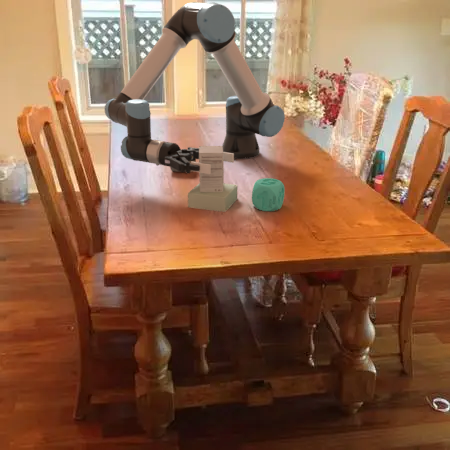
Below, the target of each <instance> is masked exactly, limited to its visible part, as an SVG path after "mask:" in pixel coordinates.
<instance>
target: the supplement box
mask: <svg viewBox="0 0 450 450" xmlns="http://www.w3.org/2000/svg"><path fill="white" fill-rule="evenodd" d="M198 148H199V159H198V163H204V164H209V165H211V174H205V173H200V172H198V174H199V176H198V177H199V183H200V192H224V175H225V174H224V172H225V171H224V170H225V169H224V165H225V163H224V162H225V161H224V160H223V145H200V146H199V147H198Z"/></svg>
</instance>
